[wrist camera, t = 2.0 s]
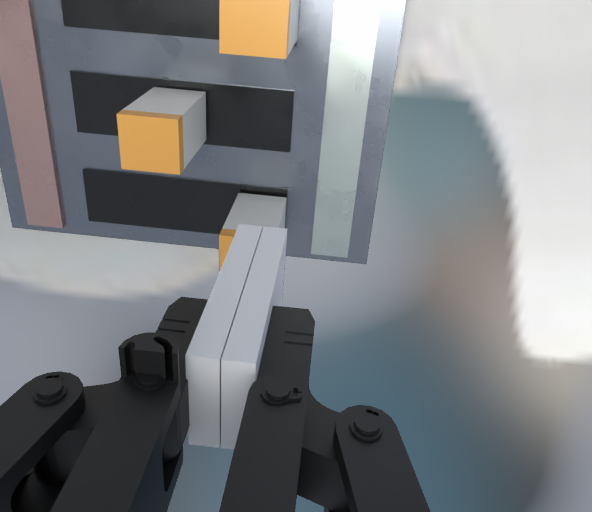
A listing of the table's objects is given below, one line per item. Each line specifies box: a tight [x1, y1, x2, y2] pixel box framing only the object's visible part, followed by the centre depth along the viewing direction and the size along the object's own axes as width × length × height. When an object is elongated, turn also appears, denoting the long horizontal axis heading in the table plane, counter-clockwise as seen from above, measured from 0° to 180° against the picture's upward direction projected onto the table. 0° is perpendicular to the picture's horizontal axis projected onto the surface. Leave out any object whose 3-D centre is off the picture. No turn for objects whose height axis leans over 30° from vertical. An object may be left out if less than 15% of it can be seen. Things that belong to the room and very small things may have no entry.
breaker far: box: [219, 193, 287, 272], centre depth 33 cm, size 3×3×6 cm
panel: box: [0, 0, 406, 264], centre depth 34 cm, size 24×18×2 cm
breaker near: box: [219, 0, 300, 59], centre depth 27 cm, size 3×3×6 cm
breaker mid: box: [117, 87, 206, 175], centre depth 30 cm, size 3×3×6 cm
